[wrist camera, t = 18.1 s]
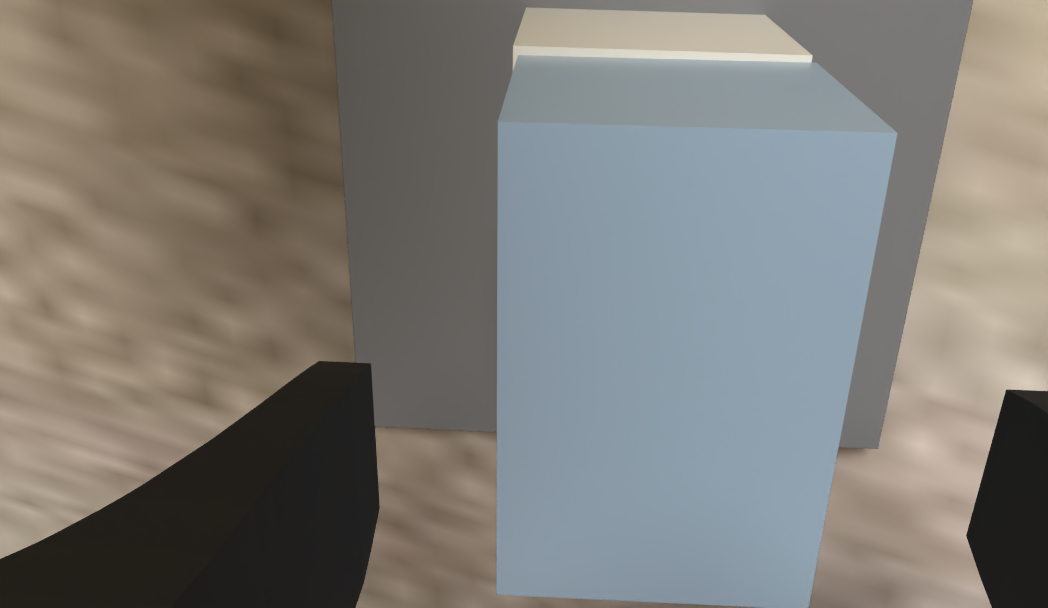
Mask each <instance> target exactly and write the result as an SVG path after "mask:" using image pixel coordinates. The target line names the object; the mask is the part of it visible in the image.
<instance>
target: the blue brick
mask: <svg viewBox="0 0 1048 608" xmlns="http://www.w3.org/2000/svg"><path fill="white" fill-rule="evenodd" d="M896 138H897V132H896V131H895V130H894V129H892V128H891V127H890V126H889V125H888V124H887V123H885V122H884V121H883V120H882V119H881V118H880V117H879V116H877V115H876V114H875V113H874V112H873V111H872V110H871V109H869V108H868V107H867V106H866V105H865V104H864V103H862V102H861V101H860V100H859V99H858V98H857V97H856V96H854V95H853V94H852V93H851V92H850V91H849V90H847V89H846V88H845V87H844V86H843V85H842V84H841V83H839V82H838V81H837V80H836V79H835V78H834V77H833V76H831V75H830V74H829V73H828V72H827V71H826V70H824V69H823V68H822V67H821V66H820V65H819V64H818V63H811V62H771V61H731V60H691V59H651V58H611V57H571V56H532V55H518V57H517V60H516V63H515V66H514V70H513V73H512V76H511V80H510V83H509V86H508V90H507V93H506V96H505V100H504V103H503V106H502V110H501V113H500V116H499V120H498V224H497V545H496V595H511V596H531V597H552V598H573V599H594V600H615V601H635V602H656V603H677V604H698V605H719V606H739V607H760V608H809V602H810V597H811V592H812V586H813V581H814V576H815V570H816V565H817V560H818V554H819V549H820V544H821V538H822V533H823V528H824V522H825V517H826V512H827V506H828V501H829V496H830V490H831V485H832V480H833V474H834V469H835V464H836V458H837V453H838V448H839V442H840V437H841V432H842V426H843V421H844V416H845V410H846V405H847V400H848V394H849V389H850V384H851V378H852V373H853V368H854V362H855V357H856V352H857V346H858V341H859V336H860V330H861V325H862V320H863V314H864V309H865V304H866V298H867V293H868V288H869V282H870V277H871V272H872V266H873V261H874V256H875V250H876V245H877V240H878V234H879V229H880V224H881V218H882V213H883V208H884V202H885V197H886V192H887V186H888V181H889V176H890V170H891V165H892V160H893V154H894V149H895V144H896Z"/></svg>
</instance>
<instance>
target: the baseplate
mask: <svg viewBox="0 0 1048 608" xmlns="http://www.w3.org/2000/svg"><path fill="white" fill-rule="evenodd" d="M972 4H973V0H332V14H333V29H334V44H335V59H336V75H337V90H338V105H339V120H340V135H341V150H342V165H343V181H344V196H345V211H346V226H347V241H348V256H349V271H350V286H351V302H352V317H353V332H354V347H355V362H356V363H371V371H372V388H373V405H374V423H375V427H390V428H413V429H436V430H458V431H481V432H497V224H498V120H499V116H500V113H501V110H502V106H503V103H504V100H505V96H506V93H507V90H508V86H509V83H510V80H511V76H512V73H513V45H514V42H515V39H516V36H517V33H518V30H519V27H520V24H521V21H522V18H523V15H524V12H525V9H526V7H527V8H559V9H591V10H623V11H656V12H688V13H720V14H753V15H766V16H767V17H768V18H769V19H770V20H772V21H773V22H774V23H775V24H776V25H778V26H779V27H780V28H781V29H782V30H783V31H785V32H786V33H787V34H788V35H789V36H790V37H792V38H793V39H794V40H795V41H796V42H797V43H799V44H800V45H801V46H802V47H803V48H804V49H806V50H807V51H808V52H809V53H810V54H811V55H813V56H812V62H811V63H818V64H819V65H820V66H821V67H822V68H823V69H824V70H826V71H827V72H828V73H829V74H830V75H831V76H833V77H834V78H835V79H836V80H837V81H838V82H839V83H841V84H842V85H843V86H844V87H845V88H846V89H847V90H849V91H850V92H851V93H852V94H853V95H854V96H856V97H857V98H858V99H859V100H860V101H861V102H862V103H864V104H865V105H866V106H867V107H868V108H869V109H871V110H872V111H873V112H874V113H875V114H876V115H877V116H879V117H880V118H881V119H882V120H883V121H884V122H885V123H887V124H888V125H889V126H890V127H891V128H892V129H894V130H895V131H896V132H897V138H896V144H895V149H894V154H893V160H892V165H891V170H890V176H889V181H888V186H887V192H886V197H885V202H884V208H883V213H882V218H881V224H880V229H879V234H878V240H877V245H876V250H875V256H874V261H873V266H872V272H871V277H870V282H869V288H868V293H867V298H866V304H865V309H864V314H863V320H862V325H861V330H860V336H859V341H858V346H857V352H856V357H855V362H854V368H853V373H852V378H851V384H850V389H849V394H848V400H847V405H846V410H845V416H844V421H843V426H842V432H841V437H840V442H839V447H845V448H868V449H878V446H879V441H880V436H881V432H882V427H883V422H884V417H885V413H886V408H887V403H888V399H889V394H890V389H891V385H892V380H893V375H894V371H895V366H896V361H897V356H898V352H899V347H900V342H901V338H902V333H903V328H904V324H905V319H906V314H907V309H908V305H909V300H910V295H911V291H912V286H913V281H914V277H915V272H916V267H917V263H918V258H919V253H920V248H921V244H922V239H923V234H924V230H925V225H926V220H927V216H928V211H929V206H930V202H931V197H932V192H933V187H934V183H935V178H936V173H937V169H938V164H939V159H940V155H941V150H942V145H943V140H944V136H945V131H946V126H947V122H948V117H949V112H950V108H951V103H952V98H953V94H954V89H955V84H956V79H957V75H958V70H959V65H960V61H961V56H962V51H963V47H964V42H965V37H966V33H967V28H968V23H969V18H970V14H971V9H972Z"/></svg>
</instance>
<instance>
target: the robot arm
mask: <svg viewBox="0 0 1048 608" xmlns="http://www.w3.org/2000/svg"><path fill="white" fill-rule="evenodd" d="M378 513H379V491H378V474H377V457H376V440H375V423H374V405H373V388H372V371H371V363H351V362H327V361H319V362H317V363H316V364H314V365H312V366H311V367H309V368H308V369H306V370H305V371H304V372H302V373H301V374H300V375H298V376H297V377H295V378H294V379H293V380H291V381H290V382H289V383H287V384H286V385H285V386H283V387H282V388H281V389H279V390H278V391H277V392H276V393H274V394H273V395H272V396H270V397H269V398H268V399H266V400H265V401H264V402H262V403H261V404H260V405H258V406H257V407H256V408H254V409H253V410H251V411H250V412H249V413H247V414H246V415H245V416H243V417H242V418H240V419H239V420H238V421H236V422H235V423H234V424H232V425H231V426H230V427H228V428H227V429H225V430H224V431H223V432H221V433H220V434H219V435H217V436H216V437H214V438H213V439H212V440H210V441H209V442H207V443H206V444H204V445H203V446H201V447H200V448H198V449H197V450H195V451H194V452H192V453H190V454H189V455H187V456H186V457H184V458H183V459H181V460H180V461H178V462H177V463H175V464H174V465H172V466H171V467H169V468H168V469H166V470H165V471H163V472H161V473H160V474H158V475H157V476H155V477H154V478H152V479H151V480H149V481H148V482H146V483H145V484H143V485H142V486H140V487H138V488H137V489H135V490H133V491H132V492H130V493H128V494H127V495H125V496H123V497H122V498H120V499H118V500H116V501H115V502H113V503H111V504H109V505H108V506H106V507H104V508H102V509H101V510H99V511H97V512H95V513H93V514H91V515H89V516H87V517H86V518H84V519H82V520H80V521H78V522H76V523H74V524H72V525H70V526H69V527H67V528H65V529H63V530H61V531H59V532H57V533H55V534H53V535H51V536H49V537H47V538H45V539H43V540H41V541H39V542H37V543H35V544H33V545H31V546H29V547H26V548H24V549H22V550H20V551H17V552H15V553H13V554H11V555H9V556H6V557H4V558H2V559H0V608H355V607H356V604H357V601H358V598H359V595H360V592H361V589H362V586H363V583H364V579H365V575H366V570H367V566H368V561H369V557H370V552H371V548H372V543H373V538H374V533H375V528H376V523H377V518H378ZM966 536H967V539H968V542H969V545H970V548H971V551H972V554H973V557H974V560H975V563H976V566H977V569H978V571H979V574H980V577H981V580H982V583H983V585H984V588H985V591H986V593H987V596H988V598H989V601H990V604H991V606H992V608H1048V391H1027V390H1006V393H1005V396H1004V400H1003V404H1002V407H1001V411H1000V415H999V418H998V422H997V426H996V429H995V433H994V436H993V440H992V444H991V447H990V451H989V455H988V458H987V462H986V466H985V469H984V473H983V477H982V480H981V484H980V488H979V491H978V495H977V499H976V502H975V506H974V510H973V513H972V517H971V521H970V524H969V528H968V531H967V535H966Z"/></svg>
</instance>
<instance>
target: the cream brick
mask: <svg viewBox="0 0 1048 608" xmlns="http://www.w3.org/2000/svg"><path fill="white" fill-rule="evenodd" d="M518 55H532V56H571V57H611V58H651V59H691V60H731V61H771V62H812V56H813V55H811V54H810V53H809V52H808V51H807V50H806V49H804V48H803V47H802V46H801V45H800V44H799V43H797V42H796V41H795V40H794V39H793V38H792V37H790V36H789V35H788V34H787V33H786V32H785V31H783V30H782V29H781V28H780V27H779V26H778V25H776V24H775V23H774V22H773V21H772V20H770V19H769V18H768V17H767V16H766V15H753V14H720V13H688V12H656V11H623V10H591V9H559V8H527V7H526V9H525V12H524V15H523V18H522V21H521V24H520V27H519V30H518V33H517V36H516V39H515V42H514V45H513V70H514V66H515V63H516V60H517V57H518Z"/></svg>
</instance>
